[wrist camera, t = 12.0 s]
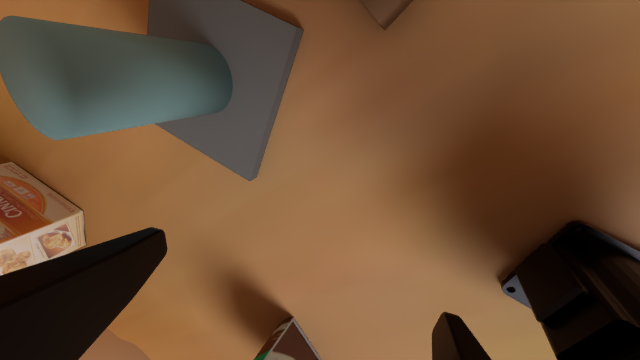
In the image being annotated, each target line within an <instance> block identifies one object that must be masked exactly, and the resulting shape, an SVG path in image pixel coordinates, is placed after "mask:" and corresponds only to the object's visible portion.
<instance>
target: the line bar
mask: <svg viewBox="0 0 640 360" xmlns="http://www.w3.org/2000/svg"><path fill="white" fill-rule="evenodd" d="M360 1H361V2H362V4H363V5H364V6H365V7H366V8H367V10H368V11H369V12H370V13H371V14H372V16H373V17H374V18H375V19H376V20H377V22H378V23H379V24H380V25H381V26H382V27H383V28H384V29H385V30H386V29H387V27H388V26H389V25H390V24H391V23H392V22H393V21H394V20H395V19H396V18H397V17H398V16H399V15H400V14H401V13H402V11H403V10H404V9H405V8H406V7H407V6H408V5H409V4H410V3H411V2H412V1H413V0H360Z"/></svg>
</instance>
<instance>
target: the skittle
mask: <svg viewBox="0 0 640 360" xmlns="http://www.w3.org/2000/svg"><path fill="white" fill-rule="evenodd" d="M0 72H1V75H2V78H3V81H4V83H5V85H6V87H7V90H8V92H9V94H10V95H11V97H12V99H13V101H14V102H15V104H16V106H17V107H18V109H19V110H20V112H21V113H22V114H23V116H24V117H25V118H26V119H27V120H28V122H29V123H30V124H31V125H32V126H33V127H34V128H35V129H37V130H38V131H39V132H40V133H42V134H43V135H45V136H47V137H49V138H51V139H55V140H63V139H69V138H75V137H80V136H86V135H92V134H98V133H103V132H109V131H115V130H121V129H127V128H132V127H138V126H144V125H150V124H155V123H161V122H167V121H173V120H178V119H184V118H190V117H196V116H201V115H207V114H213V113H217V112H220V111H222V110H223V109H224V108H225V107H226V106H227V105H228V103H229V101H230V99H231V95H232V89H233V82H232V75H231V71H230V68H229V66H228V64H227V62H226V60H225V58H224V57H223V56H222V54H221V53H220V52H219V51H218V50H217V49H215V48H214V47H212V46H210V45H208V44H204V43H197V42H190V41H183V40H177V39H170V38H163V37H156V36H149V35H142V34H135V33H128V32H121V31H114V30H107V29H101V28H94V27H87V26H80V25H73V24H66V23H59V22H52V21H45V20H38V19H32V18H25V17H18V16H7V17H4V18H3V19H2V20H1V21H0Z"/></svg>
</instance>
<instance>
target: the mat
mask: <svg viewBox="0 0 640 360" xmlns="http://www.w3.org/2000/svg"><path fill="white" fill-rule="evenodd" d="M302 33H303V29H301V28H299V27H296V26H294V25H292V24H290V23H288V22H286V21H284V20H282V19H280V18H277V17H275V16H273V15H271V14H269V13H267V12H265V11H263V10H261V9H258V8H256V7H254V6H252V5H250V4H248V3H246V2H244V1H242V0H149V13H148V30H147V35H149V36H156V37H163V38H170V39H177V40H183V41H190V42H197V43H204V44H208V45H210V46H212V47H214V48H215V49H217V50H218V51H219V52H220V53H221V54H222V56H223V57H224V58H225V60H226V62H227V64H228V66H229V68H230V71H231V75H232V82H233V89H232V95H231V99H230V101H229V103H228V105H227V106H226V107H225V108H224V109H223V110H222V111H220V112H217V113H213V114H207V115H201V116H196V117H190V118H184V119H178V120H173V121H167V122H161V123H155V124H156V125H158V126H159V127H161V128H162V129H164V130H166V131H167V132H169V133H171V134H172V135H174V136H176V137H177V138H179V139H181V140H182V141H184V142H186V143H187V144H189V145H191V146H192V147H194V148H195V149H197V150H199V151H200V152H202V153H204V154H205V155H207V156H209V157H210V158H212V159H214V160H215V161H217V162H219V163H220V164H222V165H223V166H225V167H227V168H228V169H230V170H232V171H233V172H235V173H237V174H238V175H240V176H242V177H243V178H245V179H247V180H248V181H251V180H253V179H254V178H256V177H257V174H258V171H259V168H260V165H261V161H262V158H263V155H264V152H265V149H266V146H267V143H268V140H269V136H270V133H271V130H272V127H273V124H274V121H275V118H276V115H277V111H278V108H279V105H280V102H281V99H282V96H283V93H284V90H285V86H286V83H287V80H288V77H289V74H290V71H291V68H292V65H293V62H294V58H295V55H296V52H297V49H298V46H299V43H300V40H301V37H302Z"/></svg>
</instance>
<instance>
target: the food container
mask: <svg viewBox="0 0 640 360" xmlns="http://www.w3.org/2000/svg"><path fill="white" fill-rule="evenodd" d="M254 360H322V359H321V357H320V356H319V354H318V353H317V351H316V350H315V348H314V347H313V345H312V344H311V342H310V341H309V339H308V338H307V336H306V335H305V333H304V332H303V330H302V329H301V327H300V326H299V324H298V323H297V321H296V320H295V318H294V317H291V318H288V319H286V320H284V321H283V322H282V323H281V324H280V325H279V326H278V327H277V329H276V330H275V331H274V333H273V334H272V335H271V337H270V338H269V339H268V341H267V342H266V344H265V345H264V346H263V348H262V349H261V350H260V352H259V353H258V354H257V356H256V357H255V358H254Z"/></svg>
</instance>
